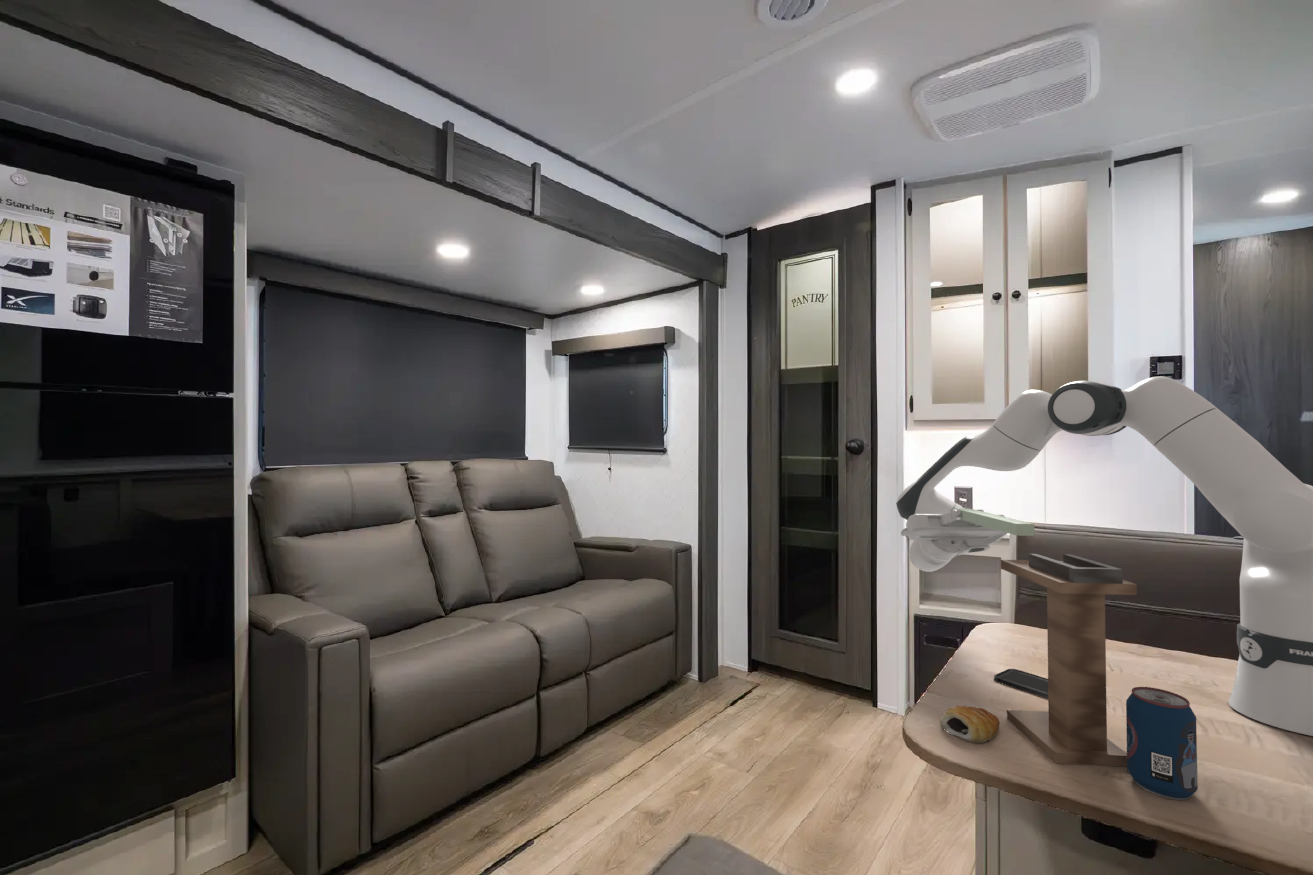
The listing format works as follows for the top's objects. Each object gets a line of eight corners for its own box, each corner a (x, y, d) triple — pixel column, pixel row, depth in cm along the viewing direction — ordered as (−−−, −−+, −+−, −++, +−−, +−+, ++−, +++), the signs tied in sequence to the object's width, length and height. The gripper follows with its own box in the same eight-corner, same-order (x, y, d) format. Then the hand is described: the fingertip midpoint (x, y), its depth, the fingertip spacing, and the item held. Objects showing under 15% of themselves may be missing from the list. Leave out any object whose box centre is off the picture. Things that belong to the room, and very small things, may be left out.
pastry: (970, 715, 94) (970, 692, 94) (1012, 733, 88) (1012, 709, 88) (936, 729, 89) (936, 705, 89) (978, 749, 84) (978, 724, 84)
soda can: (1127, 765, 79) (1126, 680, 79) (1195, 785, 74) (1194, 694, 75) (1126, 788, 74) (1125, 696, 74) (1199, 810, 69) (1198, 713, 69)
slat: (968, 517, 120) (968, 508, 120) (1034, 535, 96) (1034, 523, 96) (954, 517, 120) (954, 508, 120) (1016, 535, 96) (1016, 523, 96)
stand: (1065, 717, 93) (1063, 548, 94) (1139, 772, 77) (1136, 569, 78) (1002, 714, 94) (1000, 547, 94) (1062, 769, 78) (1060, 568, 78)
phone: (1011, 667, 112) (1101, 695, 100) (1011, 673, 112) (1102, 701, 100) (991, 676, 108) (1083, 706, 95) (991, 682, 108) (1083, 712, 95)
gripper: (896, 523, 130) (914, 498, 119) (987, 524, 129) (1016, 499, 117) (900, 549, 127) (920, 526, 115) (994, 550, 125) (1024, 527, 114)
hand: (969, 512), depth 116 cm, fingers closed on slat, 3 cm apart
